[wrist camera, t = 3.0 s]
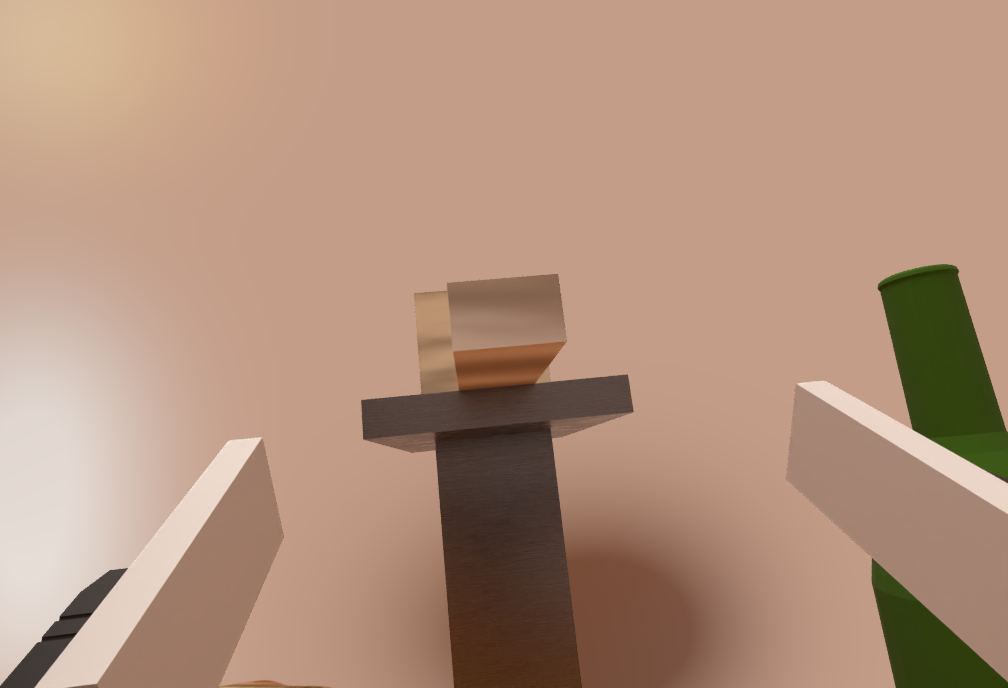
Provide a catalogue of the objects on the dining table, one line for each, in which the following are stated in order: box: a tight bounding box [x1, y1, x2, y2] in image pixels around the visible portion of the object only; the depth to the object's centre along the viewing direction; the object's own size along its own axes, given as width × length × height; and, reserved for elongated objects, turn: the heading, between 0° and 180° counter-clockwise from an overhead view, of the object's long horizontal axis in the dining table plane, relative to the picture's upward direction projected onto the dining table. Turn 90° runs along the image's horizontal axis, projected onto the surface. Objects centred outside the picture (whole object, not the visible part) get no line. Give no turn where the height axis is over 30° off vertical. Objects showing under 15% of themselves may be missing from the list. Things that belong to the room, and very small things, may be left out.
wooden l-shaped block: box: [414, 274, 567, 394], centre depth 36 cm, size 32×10×10 cm, turn 3°
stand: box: [361, 375, 633, 688], centre depth 38 cm, size 24×14×30 cm, turn 3°
